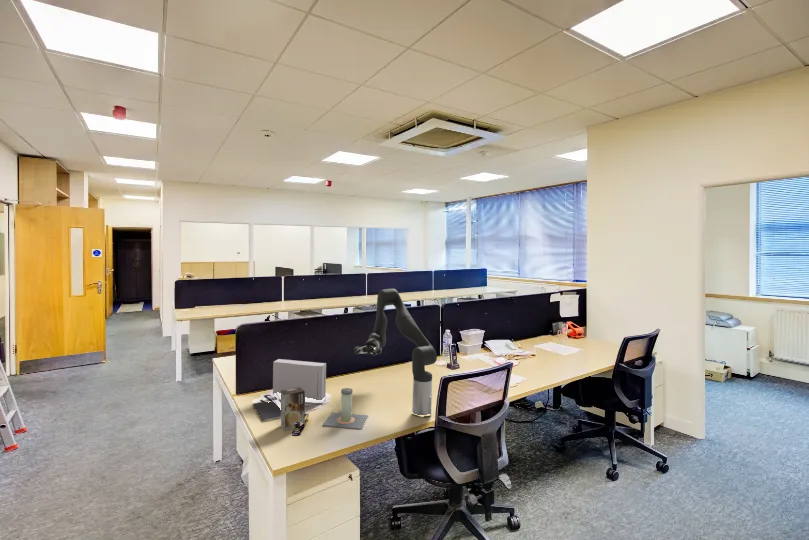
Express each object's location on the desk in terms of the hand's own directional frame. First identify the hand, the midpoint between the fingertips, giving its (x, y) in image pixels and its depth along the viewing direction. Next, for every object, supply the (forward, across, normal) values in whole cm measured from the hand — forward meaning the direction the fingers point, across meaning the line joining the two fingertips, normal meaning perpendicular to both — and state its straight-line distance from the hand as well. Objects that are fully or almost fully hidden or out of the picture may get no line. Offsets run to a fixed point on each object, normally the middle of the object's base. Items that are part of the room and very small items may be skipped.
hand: (365, 353), depth 196 cm
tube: (+20, -4, +26) cm, 33 cm away
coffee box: (+29, -26, +27) cm, 47 cm away
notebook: (+15, -43, +27) cm, 53 cm away
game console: (0, -35, +27) cm, 44 cm away
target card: (+20, -4, +27) cm, 34 cm away
